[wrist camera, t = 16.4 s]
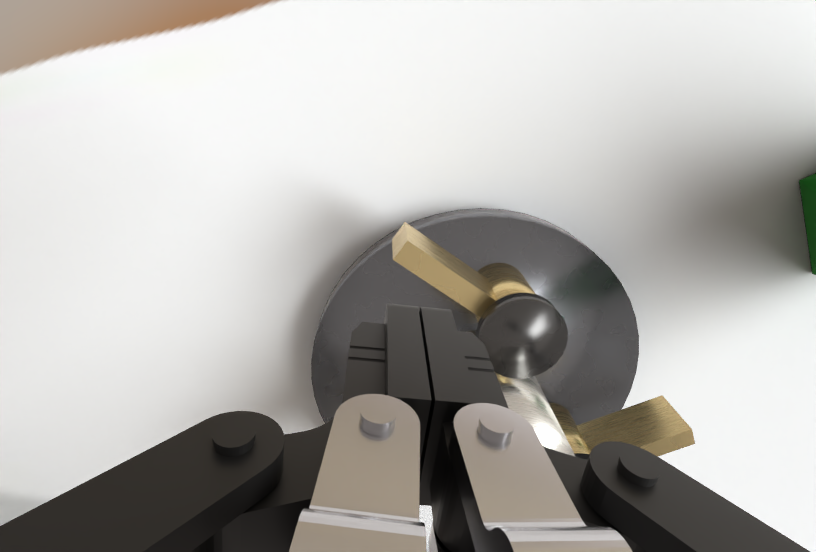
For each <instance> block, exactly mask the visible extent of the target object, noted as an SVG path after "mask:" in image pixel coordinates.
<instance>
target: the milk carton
mask: <svg viewBox="0 0 816 552" xmlns="http://www.w3.org/2000/svg"><path fill="white" fill-rule="evenodd" d="M799 184H800V191H801V198H802V205H803V212H804V219H805V226H806V233H807V240H808V247H809V254H810V261H811V268H812V274H815V275H816V173H815V174H813V175H811V176H808V177H806V178H804V179H801V180H799Z"/></svg>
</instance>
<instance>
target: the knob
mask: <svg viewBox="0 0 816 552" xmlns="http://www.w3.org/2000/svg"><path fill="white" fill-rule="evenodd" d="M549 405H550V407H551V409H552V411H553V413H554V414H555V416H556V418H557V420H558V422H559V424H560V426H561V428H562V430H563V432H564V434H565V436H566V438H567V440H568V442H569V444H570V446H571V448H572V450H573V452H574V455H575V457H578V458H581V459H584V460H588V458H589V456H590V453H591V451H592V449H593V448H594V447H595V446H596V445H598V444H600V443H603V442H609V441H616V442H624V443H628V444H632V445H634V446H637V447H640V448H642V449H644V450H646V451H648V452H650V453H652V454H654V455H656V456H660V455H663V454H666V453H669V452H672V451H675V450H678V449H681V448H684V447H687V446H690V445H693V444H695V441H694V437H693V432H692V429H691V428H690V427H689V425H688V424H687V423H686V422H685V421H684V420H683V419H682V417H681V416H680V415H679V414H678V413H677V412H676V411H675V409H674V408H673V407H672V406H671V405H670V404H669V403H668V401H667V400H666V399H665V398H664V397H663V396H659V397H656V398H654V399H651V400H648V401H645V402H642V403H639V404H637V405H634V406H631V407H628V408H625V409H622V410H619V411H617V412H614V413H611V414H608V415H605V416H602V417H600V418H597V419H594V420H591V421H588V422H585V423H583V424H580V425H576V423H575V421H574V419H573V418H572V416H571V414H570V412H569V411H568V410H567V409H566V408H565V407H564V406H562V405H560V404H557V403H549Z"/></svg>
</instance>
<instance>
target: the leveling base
mask: <svg viewBox="0 0 816 552" xmlns="http://www.w3.org/2000/svg"><path fill="white" fill-rule="evenodd" d="M409 225H410V226H412V227H413V228H415V229H416V230H418V231H419V232H420V233H422V234H423V235H425V236H426V237H428V238H429V239H431V240H432V241H433V242H435V243H436V244H438V245H439V246H441V247H442V248H444V249H445V250H446V251H448V252H449V253H451V254H452V255H454V256H455V257H457V258H458V259H459V260H461V261H462V262H464V263H465V264H467V265H468V266H470V267H471V268H472V269H474V270H475V271H478V270H479V269H481V268H482V267H484V266H486V265H489V264H492V263H506V264H510V265H512V266H514V267H515V268H517V269H518V270H519V271H520V272H521V273H522V275H523V276H524V278H525V279H526V281H527V282H528V283H529V285H530V286H531V288H532V289H533V291H534V292H535V293H536V294H537V295H539V296H542V297H544V298H545V299H547V300H548V301H550V302H551V303H552V304H553V305H554V306H555V308H556V309H557V310H558V312H559V313H560V315H561V316H562V317H563V319H564V321H565V323H566V326H567V329H568V341H567V345H566V348H565V351H564V353H563V354H562V356H561V357H560V359H559V360H558V361H557V362H556V363H555V364H554V365H553V366H552V367H551V368H549V369H548V370H547V371H545V372H543V373H541V374H539V375H536V376H533V377H529V378H522V379H515V378H508V377H504V376H502V375H499V374H497V373H496V372H495V373H496V376H497V379H498V381H499V384H500V387H501V389H502V392H503V395H504V397H505V400H506V402H507V405H508V408H509V409H510V410H512V411H514V412H516V413H518V414H519V415H521V416H522V417H523V418H525V419H526V420H527V421H528V422H529V423H530V424H531V426H532V427H533V429H534V430H535V432H536V434H537V436H538V438H539V440H540V441H541V443H542V445H543V446H545V447H548V448H550V449H553V450H555V451H558V452H562V453H565V454H568V455H571V456H575V455H574V452H573V450H572V448H571V446H570V444H569V442H568V440H567V438H566V436H565V434H564V432H563V430H562V428H561V426H560V424H559V422H558V420H557V418H556V416H555V414H554V413H553V411H552V409H551V407H550V405H549V403H557V404H560V405H562V406H564V407H565V408H566V409H567V410H568V411H569V412H570V414H571V416H572V418H573V419H574V421H575V423H576V425H580V424H583V423H585V422H588V421H591V420H594V419H597V418H600V417H602V416H605V415H608V414H611V413H614V412H617V411H619V410H621V409H622V407H623V406H624V403H625V401H626V399H627V397H628V395H629V392H630V390H631V387H632V384H633V380H634V377H635V374H636V369H637V362H638V355H639V335H638V329H637V323H636V317H635V314H634V311H633V308H632V305H631V302H630V299H629V297H628V296H627V294H626V292H625V290H624V288H623V286H622V284H621V282H620V281H619V280H618V278H617V277H616V276H615V274H614V273H613V272H612V270H611V269H610V268H609V266H607V265H606V264H605V263H604V262H603V261H602V260H601V259H600V258H599V257H598V256H597V255H596V254H595V253H594V252H593V251H592V250H590V249H589V248H588V247H587V246H586V245H584V244H583V243H582V242H581V241H579V240H578V239H576V238H575V237H573V236H572V235H571V234H569V233H568V232H566V231H565V230H563V229H561V228H559V227H557V226H555V225H553V224H551V223H549V222H547V221H545V220H542V219H539V218H536V217H533V216H530V215H527V214H523V213H518V212H513V211H508V210H500V209H482V208H480V209H466V210H456V211H451V212H446V213H441V214H436V215H433V216H430V217H427V218H424V219H421V220H418V221H415V222H412V223H410V224H409ZM398 231H399V229H398V230H396V231H394V232H392V233H390V234H389V235H387V236H386V237H384V238H383V239H381V240H380V241H378V242H377V243H375V244H374V245H373V246H371V247H370V248H369V249H368V250H367V251H366V252H364V253H363V254H362V255H361V256H360V257H359V258H358V259H357V260H356V261H355V262H354V263H353V264H352V265H351V266H350V268H349V269H348V270H347V271H346V272H345V273H344V274H343V276H342V277H341V279H340V280H339V282H338V283H337V285H336V286H335V288H334V289H333V291H332V293H331V295H330V297H329V299H328V301H327V303H326V305H325V308H324V310H323V313H322V317H321V320H320V323H319V326H318V330H317V334H316V337H315V341H314V347H313V354H312V384H313V390H314V396H315V399H316V402H317V405H318V408H319V411H320V414H321V416H322V418H323V420H324V422H325V423H327V422H329V421H330V420H331V419H332V418H333V417H334V416H335V413H336V411H337V409H338V408H339V406H340V405H341V404H342V399H343V391H344V384H345V377H346V370H347V362H348V355H349V348H350V341H351V333H352V331H353V330H354V329H355V328H357V327H358V326H359V325H360V324H361V323H362V322H370V323H380V324H384V319H385V311H386V305H387V303H389V304H399V305H409V306H418V309H419V307H429V308H439V309H449V310H451V311H452V314H453V317H454V321H455V324H456V328H457V331H464V332H472V333H473V334H474V335H475V336H476V330H477V325H478V322H477V319H476V317H475V314H474V313H473V312H471V311H470V310H468V309H467V308H465V307H464V306H462V305H461V304H459V303H458V302H456V301H455V300H453V299H452V298H450V297H448V296H447V295H445V294H444V293H442V292H441V291H439V290H438V289H436V288H435V287H433V286H432V285H430V284H429V283H427V282H426V281H424V280H423V279H421V278H420V277H418V276H417V275H415V274H414V273H412V272H411V271H409V270H408V269H406V268H405V267H403V266H402V265H400V264H399V263H397V262H395V261H394V260H393V250H392V239H393V237H394V236H395V235H396V233H397V232H398Z"/></svg>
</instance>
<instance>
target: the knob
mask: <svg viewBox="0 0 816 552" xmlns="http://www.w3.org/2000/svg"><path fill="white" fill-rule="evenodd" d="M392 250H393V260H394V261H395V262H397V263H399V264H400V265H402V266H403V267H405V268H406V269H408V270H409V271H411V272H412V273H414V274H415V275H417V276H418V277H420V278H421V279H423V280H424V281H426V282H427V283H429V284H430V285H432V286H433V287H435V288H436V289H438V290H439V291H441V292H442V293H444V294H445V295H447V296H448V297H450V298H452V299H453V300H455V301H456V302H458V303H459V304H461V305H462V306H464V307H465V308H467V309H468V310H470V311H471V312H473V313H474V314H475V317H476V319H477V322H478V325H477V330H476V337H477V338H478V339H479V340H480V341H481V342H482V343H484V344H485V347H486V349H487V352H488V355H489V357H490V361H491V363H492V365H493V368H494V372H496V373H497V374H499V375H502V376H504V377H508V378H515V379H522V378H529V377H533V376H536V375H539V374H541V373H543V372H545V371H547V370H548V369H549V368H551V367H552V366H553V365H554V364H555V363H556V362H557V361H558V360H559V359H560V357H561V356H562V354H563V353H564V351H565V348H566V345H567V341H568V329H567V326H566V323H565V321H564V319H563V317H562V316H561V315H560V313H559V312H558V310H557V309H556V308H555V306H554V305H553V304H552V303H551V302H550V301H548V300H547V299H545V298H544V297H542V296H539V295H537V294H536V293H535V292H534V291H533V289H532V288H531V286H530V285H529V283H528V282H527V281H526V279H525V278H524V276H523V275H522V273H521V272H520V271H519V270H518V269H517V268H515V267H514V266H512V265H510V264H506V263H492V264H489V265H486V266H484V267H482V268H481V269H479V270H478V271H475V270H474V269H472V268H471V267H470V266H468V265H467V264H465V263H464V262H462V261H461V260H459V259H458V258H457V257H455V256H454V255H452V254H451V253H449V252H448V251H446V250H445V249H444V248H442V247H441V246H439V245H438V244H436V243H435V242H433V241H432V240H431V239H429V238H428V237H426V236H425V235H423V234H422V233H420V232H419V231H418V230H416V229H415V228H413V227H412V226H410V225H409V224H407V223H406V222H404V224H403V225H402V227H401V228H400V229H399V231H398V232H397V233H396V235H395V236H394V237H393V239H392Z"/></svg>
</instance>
